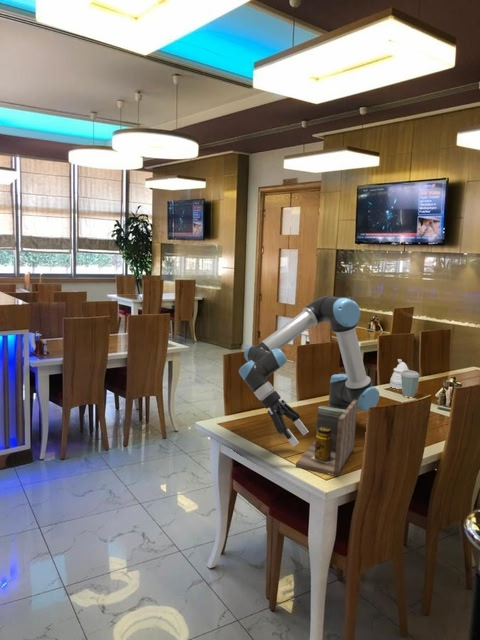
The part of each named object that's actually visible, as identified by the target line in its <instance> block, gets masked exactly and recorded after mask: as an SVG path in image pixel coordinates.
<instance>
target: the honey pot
mask: <svg viewBox="0 0 480 640" xmlns="http://www.w3.org/2000/svg"><path fill="white" fill-rule="evenodd" d="M402 360H403V359H401V358H398V359H397V362H398V364H397V366H396V367H394V368H393V373H392V375H391V377H390V380H389V388H390V387H392V388H396V389H402V379H401V373H402V371H404V370H409V366H408V365H407V363H405V362H404V361H402ZM392 388H391V389H392Z"/></svg>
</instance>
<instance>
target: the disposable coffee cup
mask: <svg viewBox="0 0 480 640" xmlns="http://www.w3.org/2000/svg"><path fill="white" fill-rule="evenodd" d="M401 379H402V391H401V393H402V396H403V395H405V396H415V397H416V392H417V387H418V384H419V380H420V374H419V372H418V371H415V370H410V369H408V370H404V371H402V373H401Z"/></svg>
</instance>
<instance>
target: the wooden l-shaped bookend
mask: <svg viewBox="0 0 480 640" xmlns="http://www.w3.org/2000/svg"><path fill="white" fill-rule="evenodd" d="M357 402H358V400H353V401H352V403H351V404H350V405H349V406H348V408H347V409H346V410H343V409H337V408H332V407H328V406H326V405H319V406H318V407H317V418H316V429H315V431H316V432H315V436H316V435H317V431H318V428H319V427H327V428H329V429H331V431H332V432H331V436H332V444H331V456H335V459H334V460H332V461H331V462H329V463H327V464H326V463H323V462H319V461H316V460H314V459H311V458H312V457H314V456H315V445H316V439H315V440H314V441H313V442H312V443H311V445H310V446H309V447H308V448H307V449H306V450H305V452H304V453H303V454H302V456H301V457H300V458H299V459H298V460H297V462H296V463H295V468H298V467H299V469H303V468H304V470H307V469H309V470H308V471H312V470H313V471H312V472H316V471H318V473H320V472H324V473H323V474H325V473H330V474H333V475H340V474H339V473H341V472H342V471H343V469H342V468H344V467H345V465H346V464H345V463H347V462H348V460H349V459H348V458H350V457H351V455H352V454H353V452H354V444H355V436H356V434H355V433H356V426H357V425H356V423H357V411H358V408H357ZM340 471H341V472H340ZM333 475H332V476H333Z"/></svg>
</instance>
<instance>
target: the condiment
mask: <svg viewBox="0 0 480 640" xmlns="http://www.w3.org/2000/svg"><path fill="white" fill-rule="evenodd" d="M331 432H332V431H331V429H329V428H327V427H319V428H318V431H317V435H316V434H315V440H316V445H315V456H314V457H312V458H311V459H314V460H316V461H319V462H323V463H326V464H327V463H329V462H331V461H332V460H334V459H335V456H331V444H332V436H331Z"/></svg>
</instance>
